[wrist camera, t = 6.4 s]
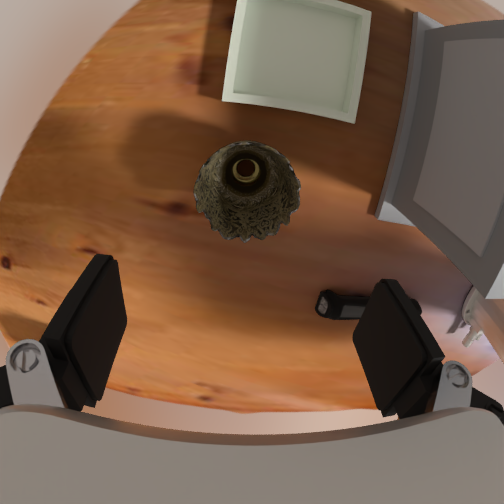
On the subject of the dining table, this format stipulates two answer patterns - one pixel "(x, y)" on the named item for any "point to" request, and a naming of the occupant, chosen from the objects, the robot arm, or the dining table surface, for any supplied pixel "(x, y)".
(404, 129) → the grey sign holder
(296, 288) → the dining table surface
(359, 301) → the electric trimmer
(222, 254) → the dining table surface
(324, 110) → the parts tray
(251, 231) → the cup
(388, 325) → the robot arm
